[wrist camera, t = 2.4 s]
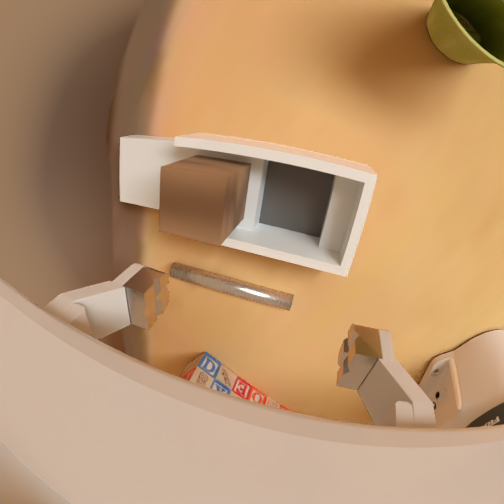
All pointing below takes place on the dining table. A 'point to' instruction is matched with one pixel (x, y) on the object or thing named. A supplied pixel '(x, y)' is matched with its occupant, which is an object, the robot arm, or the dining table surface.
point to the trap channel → (268, 195)
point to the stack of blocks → (223, 380)
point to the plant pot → (468, 30)
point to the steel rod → (232, 286)
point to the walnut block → (203, 198)
